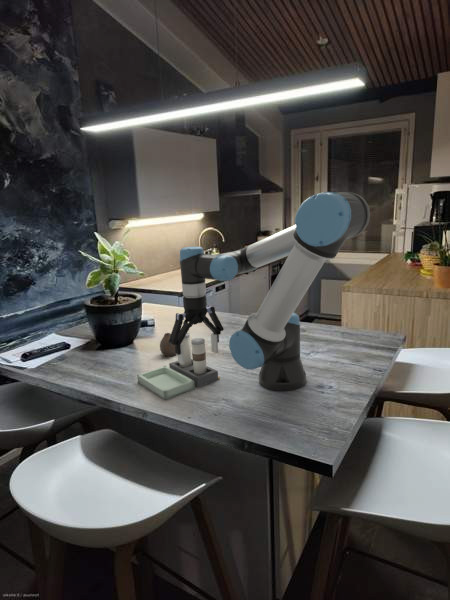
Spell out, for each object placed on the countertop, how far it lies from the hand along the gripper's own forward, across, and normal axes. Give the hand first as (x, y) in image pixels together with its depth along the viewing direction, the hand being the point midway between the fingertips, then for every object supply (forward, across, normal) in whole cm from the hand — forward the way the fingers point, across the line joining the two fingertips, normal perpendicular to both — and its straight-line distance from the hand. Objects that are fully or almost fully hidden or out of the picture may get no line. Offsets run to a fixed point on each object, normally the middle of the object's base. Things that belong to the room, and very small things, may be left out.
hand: (198, 357), depth 135 cm
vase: (+8, -5, -28) cm, 30 cm away
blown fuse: (+8, 0, 0) cm, 8 cm away
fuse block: (+8, 0, -4) cm, 9 cm away
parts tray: (+8, +11, -4) cm, 14 cm away
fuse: (+8, 0, -9) cm, 12 cm away
